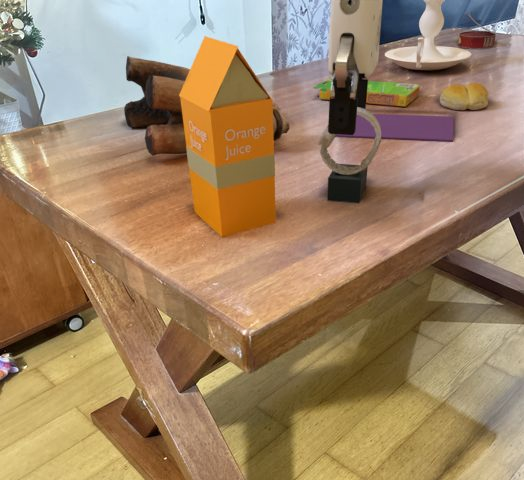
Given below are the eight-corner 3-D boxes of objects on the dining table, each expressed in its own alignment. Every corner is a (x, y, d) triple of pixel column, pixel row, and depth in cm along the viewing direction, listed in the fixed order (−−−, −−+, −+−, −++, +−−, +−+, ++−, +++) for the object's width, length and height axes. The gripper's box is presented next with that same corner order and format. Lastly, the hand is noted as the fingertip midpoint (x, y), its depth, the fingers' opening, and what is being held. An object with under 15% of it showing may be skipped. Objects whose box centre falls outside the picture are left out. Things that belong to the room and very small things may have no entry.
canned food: (465, 60, 162) (477, 24, 159) (495, 60, 155) (509, 22, 152) (445, 44, 154) (458, 6, 152) (476, 44, 147) (490, 4, 145)
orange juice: (245, 199, 74) (235, 32, 62) (277, 222, 68) (272, 41, 56) (192, 212, 71) (171, 40, 59) (220, 237, 65) (202, 51, 53)
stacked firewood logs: (148, 67, 75) (309, 71, 84) (114, 54, 100) (242, 58, 108) (153, 162, 82) (302, 157, 90) (121, 128, 106) (241, 126, 115)
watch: (322, 184, 77) (324, 102, 71) (378, 188, 75) (386, 104, 68) (312, 199, 73) (314, 114, 66) (372, 204, 71) (380, 116, 64)
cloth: (453, 118, 100) (453, 116, 100) (453, 141, 90) (453, 139, 89) (345, 114, 105) (345, 113, 105) (333, 136, 94) (333, 134, 94)
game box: (404, 111, 107) (310, 98, 115) (417, 100, 114) (328, 88, 121) (407, 95, 105) (311, 82, 113) (420, 84, 112) (329, 73, 119)
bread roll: (437, 100, 110) (440, 79, 108) (483, 100, 109) (488, 78, 106) (440, 111, 104) (444, 88, 101) (489, 111, 102) (494, 88, 100)
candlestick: (370, 78, 128) (381, -71, 111) (393, 58, 146) (406, -74, 128) (460, 83, 121) (487, -76, 104) (473, 61, 139) (498, -78, 121)
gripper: (387, -42, 50) (369, 145, 61) (400, -49, 63) (384, 106, 74) (308, -41, 52) (304, 141, 63) (337, -48, 65) (330, 103, 76)
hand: (347, 122), depth 68 cm, fingers open, 9 cm apart
